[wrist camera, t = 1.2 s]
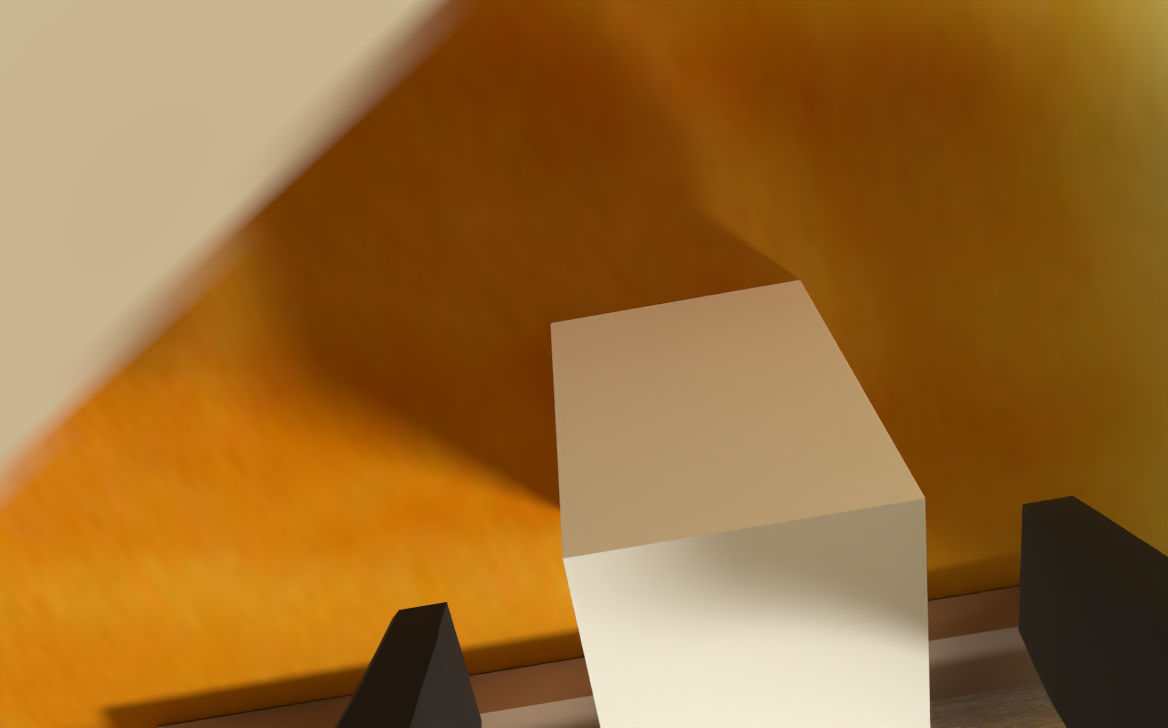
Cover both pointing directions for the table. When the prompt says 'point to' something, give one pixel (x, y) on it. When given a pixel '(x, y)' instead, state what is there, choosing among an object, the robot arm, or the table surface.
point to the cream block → (736, 521)
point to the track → (956, 681)
